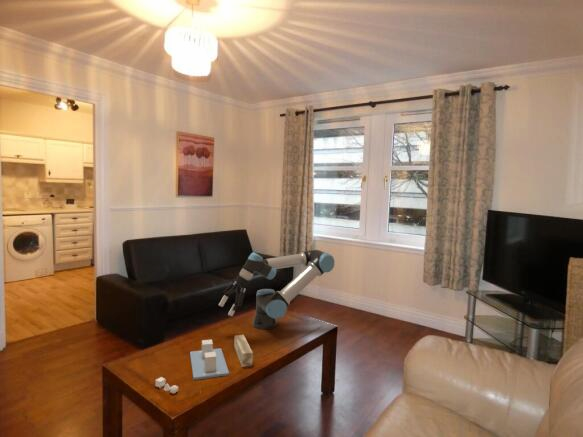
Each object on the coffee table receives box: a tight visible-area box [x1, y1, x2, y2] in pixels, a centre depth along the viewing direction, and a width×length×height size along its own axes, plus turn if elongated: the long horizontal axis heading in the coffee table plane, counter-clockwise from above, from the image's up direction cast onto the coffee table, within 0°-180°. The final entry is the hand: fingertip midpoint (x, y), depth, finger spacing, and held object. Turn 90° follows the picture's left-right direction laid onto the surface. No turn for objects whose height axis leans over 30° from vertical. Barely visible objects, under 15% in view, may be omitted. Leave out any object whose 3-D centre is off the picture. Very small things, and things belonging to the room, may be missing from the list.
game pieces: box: [154, 376, 179, 395], centre depth 148 cm, size 12×3×3 cm, turn 58°
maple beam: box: [233, 334, 254, 368], centre depth 181 cm, size 5×22×7 cm, turn 20°
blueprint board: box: [189, 339, 230, 381], centre depth 171 cm, size 16×26×8 cm, turn 20°
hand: (225, 310), depth 197 cm, fingers open, 13 cm apart
